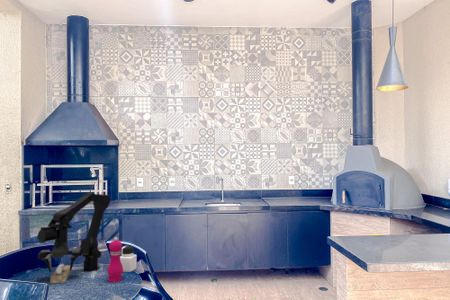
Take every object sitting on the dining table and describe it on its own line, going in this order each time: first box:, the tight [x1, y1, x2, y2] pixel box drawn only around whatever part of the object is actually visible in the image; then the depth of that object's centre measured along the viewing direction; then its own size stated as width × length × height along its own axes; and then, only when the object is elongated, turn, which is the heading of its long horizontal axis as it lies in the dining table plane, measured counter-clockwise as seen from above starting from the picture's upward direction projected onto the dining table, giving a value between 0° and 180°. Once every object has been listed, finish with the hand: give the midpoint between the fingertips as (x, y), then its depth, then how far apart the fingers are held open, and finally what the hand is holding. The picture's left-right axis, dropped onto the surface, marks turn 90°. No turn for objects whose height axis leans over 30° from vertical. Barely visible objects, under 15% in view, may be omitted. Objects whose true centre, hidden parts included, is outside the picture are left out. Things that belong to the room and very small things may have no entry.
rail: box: [50, 265, 72, 284], centre depth 167 cm, size 6×17×3 cm, turn 15°
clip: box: [56, 263, 65, 275], centre depth 164 cm, size 2×7×6 cm, turn 15°
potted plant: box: [120, 245, 138, 273], centre depth 179 cm, size 7×7×12 cm
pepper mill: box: [106, 236, 123, 283], centre depth 163 cm, size 7×7×20 cm
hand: (60, 271), depth 164 cm, fingers open, 9 cm apart
